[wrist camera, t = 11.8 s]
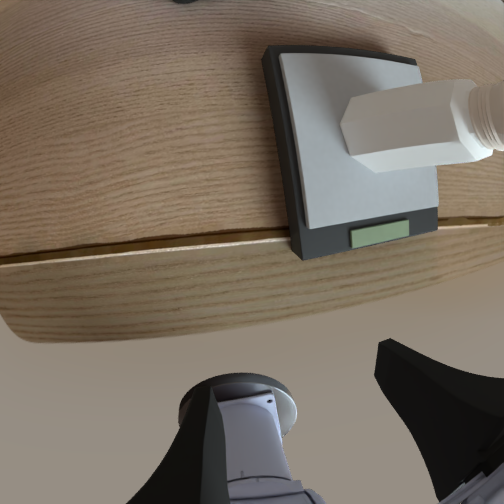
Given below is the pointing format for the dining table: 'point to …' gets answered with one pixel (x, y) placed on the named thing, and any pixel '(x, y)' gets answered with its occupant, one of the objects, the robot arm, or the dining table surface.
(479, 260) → the dining table surface
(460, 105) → the pepper shaker
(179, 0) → the phone
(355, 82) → the scale
